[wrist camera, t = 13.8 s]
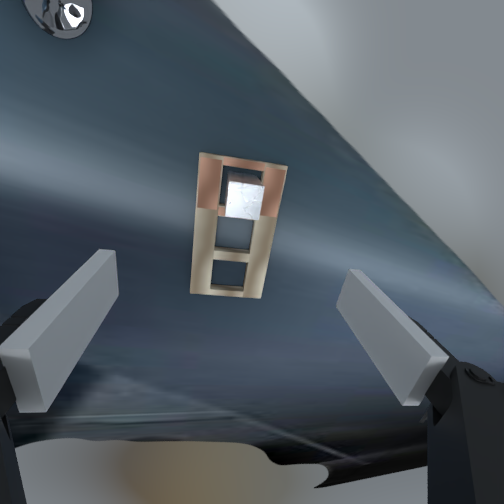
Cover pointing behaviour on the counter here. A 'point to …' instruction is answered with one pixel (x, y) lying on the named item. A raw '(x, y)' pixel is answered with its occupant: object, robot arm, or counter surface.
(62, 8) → the wine glass
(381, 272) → the counter surface
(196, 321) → the counter surface
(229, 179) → the steel peg
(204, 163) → the hole rail
